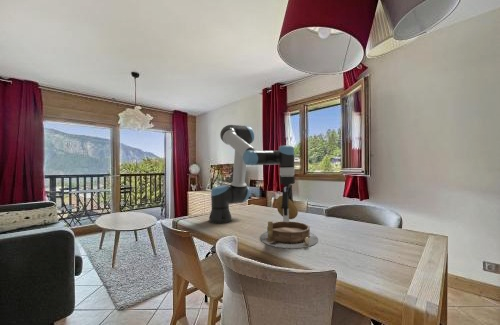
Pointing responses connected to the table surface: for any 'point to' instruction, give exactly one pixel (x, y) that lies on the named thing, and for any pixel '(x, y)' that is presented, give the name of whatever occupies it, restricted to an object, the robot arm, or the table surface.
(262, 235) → the base
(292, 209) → the potato
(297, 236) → the brown round shallow piece
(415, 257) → the table surface
